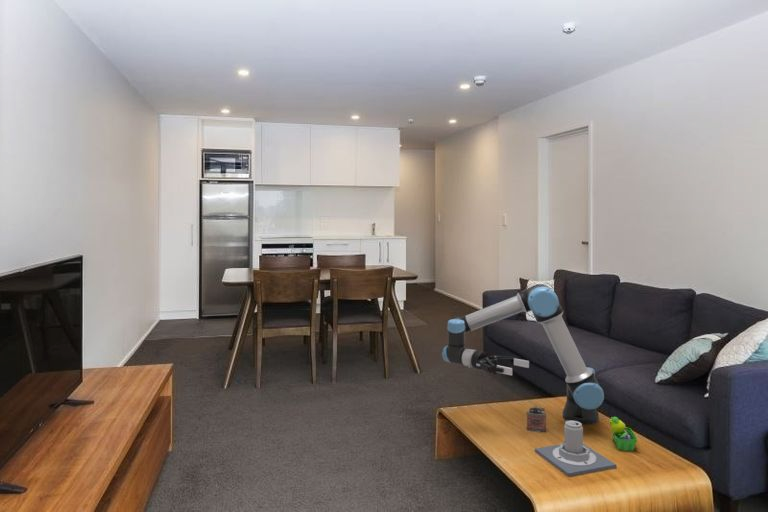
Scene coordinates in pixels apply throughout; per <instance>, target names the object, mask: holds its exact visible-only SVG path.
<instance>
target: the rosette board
mask: <svg viewBox="0 0 768 512" xmlns="http://www.w3.org/2000/svg"><path fill="white" fill-rule="evenodd" d="M534 452H535V453H536V454H537V455H539V456H540V457H541V458H543V459H544V460H545V461H546V462H548V463H550V464H551V465H552V466H553V467H555V468H556V469H557V470H559V471H560V472H561V473H563V474H564V475H565V476H567V477H574V476H579V475H585V474H590V473H595V472H601V471H606V470H612V469H617V463H615V462H614V461H611V460H610V459H608V458H607V457H605V456H604V455H602V454H600V453H599V452H597V451H596V450H594V449H592V448H591V447H589V446H588V445H586V444H584V443H583V453H581V454H574V453H569V452H567V451H565V450H564V443H563V442H562V443H560V444H553V445H548V446H542V447H535V448H534Z"/></svg>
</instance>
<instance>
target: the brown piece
mask: <svg viewBox="0 0 768 512" xmlns="http://www.w3.org/2000/svg"><path fill="white" fill-rule="evenodd" d="M545 411H546V410H545V407H538V406H536V405H535V406H529V410H527V411H526V430H527V431H528V432H529V431H530V432H536V433H547V412H545Z"/></svg>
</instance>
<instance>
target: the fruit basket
mask: <svg viewBox="0 0 768 512" xmlns="http://www.w3.org/2000/svg"><path fill="white" fill-rule="evenodd" d="M609 428H610V430H611V433H612V437H613V441H614V443H615V445H616V447H617V449H618V450H619V451H627V452H630V451H631V452H634V451H635V450H634V449H635V447H636V443H637V441H638V438H637V436H636V434H635V433H634V431H633V429H632V428H630V427H627V426H626V424H625V422H623V421H622V420H621V419H619V418H618V417H617V416H611V417H610V419H609Z"/></svg>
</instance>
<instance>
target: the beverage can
mask: <svg viewBox="0 0 768 512" xmlns="http://www.w3.org/2000/svg"><path fill="white" fill-rule="evenodd" d="M563 427H564V429H563V432H564V433H563V434H564V435H563V436H564V438H563V439H564V450H565V451H567V452H569V453H574V454H581V453H583V444H584V427H583V424H581V423H580V422H578V421H573V420H570V421H567V420H566V421H565V424H564V426H563Z"/></svg>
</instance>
